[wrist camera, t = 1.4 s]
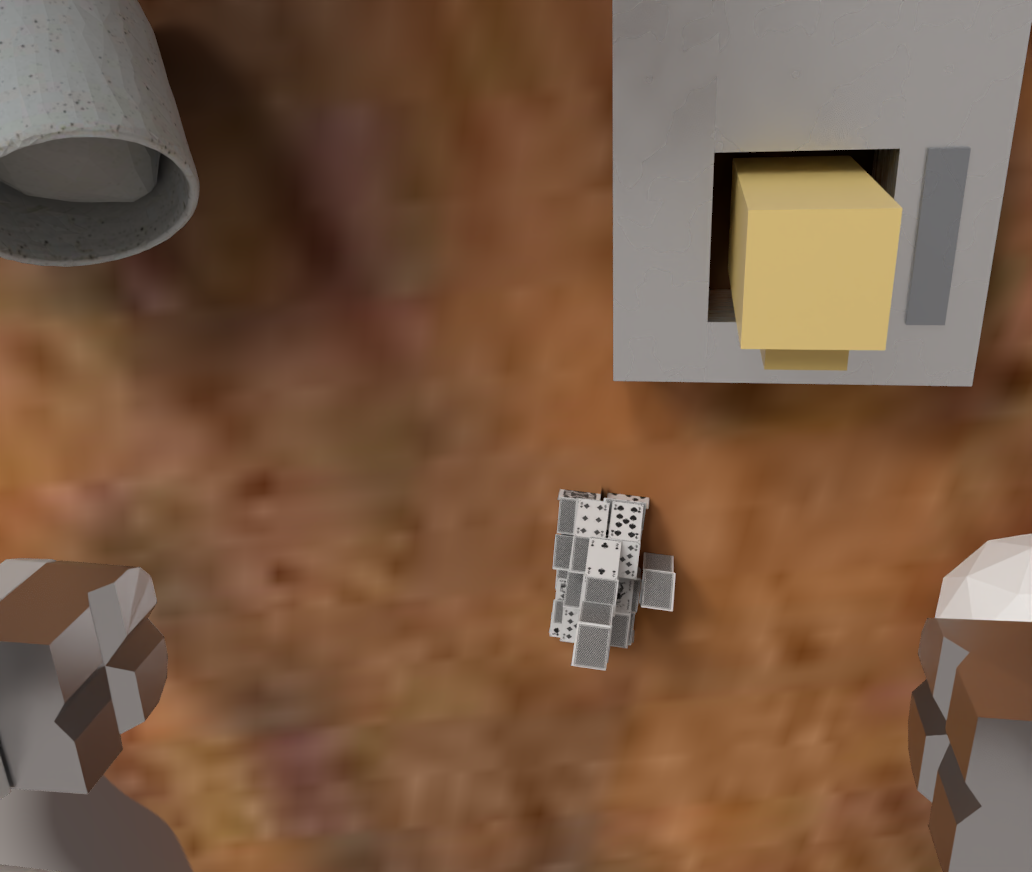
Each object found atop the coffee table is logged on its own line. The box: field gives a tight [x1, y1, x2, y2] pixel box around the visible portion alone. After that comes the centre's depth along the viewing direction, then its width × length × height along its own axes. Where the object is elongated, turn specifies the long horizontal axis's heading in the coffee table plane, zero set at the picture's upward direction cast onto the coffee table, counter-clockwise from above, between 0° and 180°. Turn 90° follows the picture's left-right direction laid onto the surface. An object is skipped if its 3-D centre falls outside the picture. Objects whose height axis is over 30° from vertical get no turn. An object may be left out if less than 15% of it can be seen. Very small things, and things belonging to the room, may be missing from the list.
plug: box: [728, 156, 903, 371], centre depth 31 cm, size 5×4×9 cm
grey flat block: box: [613, 0, 1032, 386], centre depth 30 cm, size 22×12×4 cm, turn 3°
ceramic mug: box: [0, 0, 200, 267], centre depth 32 cm, size 11×8×8 cm
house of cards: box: [549, 489, 676, 671], centre depth 39 cm, size 9×9×8 cm
